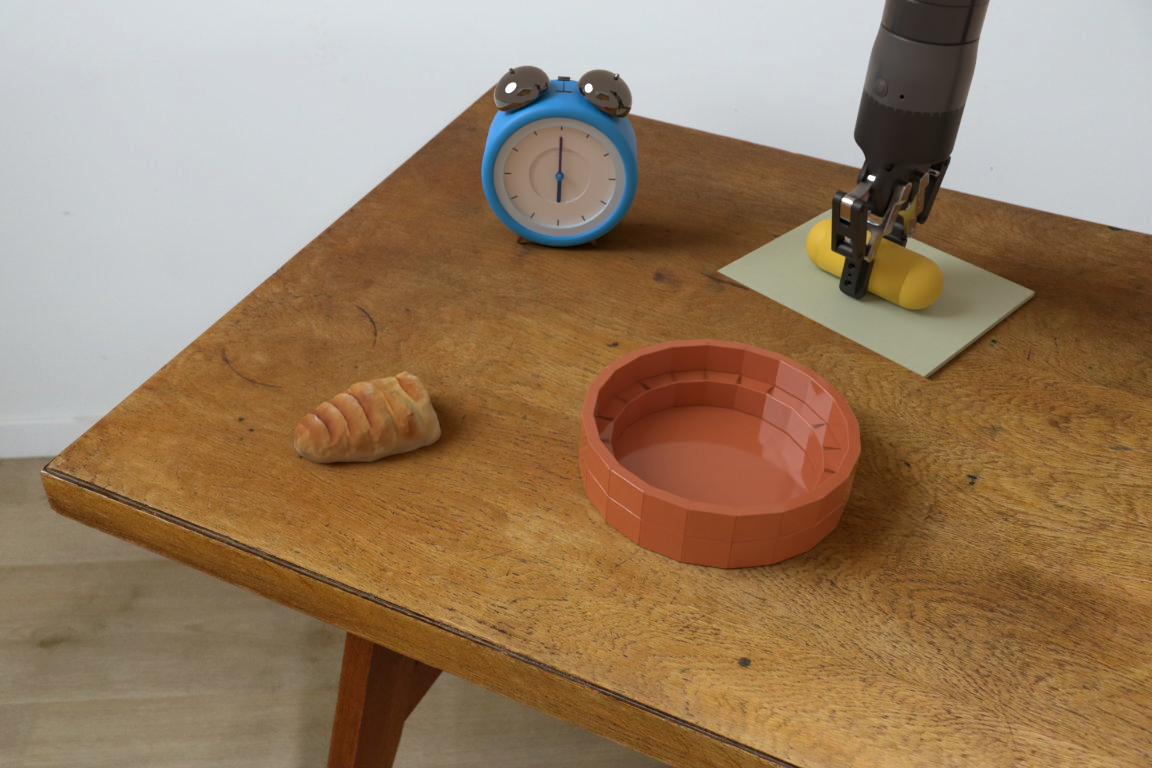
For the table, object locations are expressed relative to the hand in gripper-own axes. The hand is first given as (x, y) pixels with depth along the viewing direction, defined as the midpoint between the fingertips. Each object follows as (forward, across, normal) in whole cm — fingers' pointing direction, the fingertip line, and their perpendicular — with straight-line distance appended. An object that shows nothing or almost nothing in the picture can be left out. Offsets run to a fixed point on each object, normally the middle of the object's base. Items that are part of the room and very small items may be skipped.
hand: (868, 282), depth 93 cm
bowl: (+1, -28, -6) cm, 29 cm away
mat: (+1, 0, 0) cm, 1 cm away
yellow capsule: (0, 0, 0) cm, 0 cm away
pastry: (+1, -42, +12) cm, 44 cm away
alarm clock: (+1, -13, +24) cm, 27 cm away
